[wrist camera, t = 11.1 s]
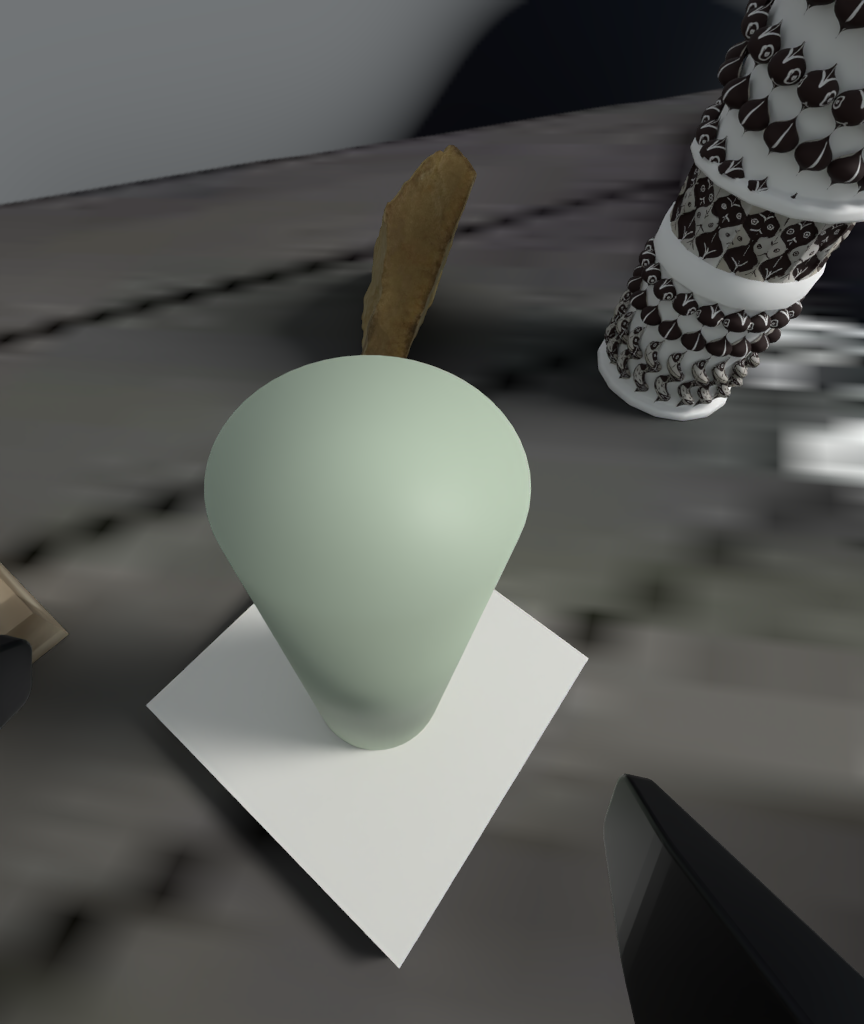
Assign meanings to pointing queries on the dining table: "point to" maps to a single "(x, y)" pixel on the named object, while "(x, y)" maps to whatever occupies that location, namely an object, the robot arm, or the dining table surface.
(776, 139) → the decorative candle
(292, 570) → the round block
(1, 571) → the frame
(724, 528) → the dining table surface
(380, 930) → the board
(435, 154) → the rock
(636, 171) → the dining table surface
